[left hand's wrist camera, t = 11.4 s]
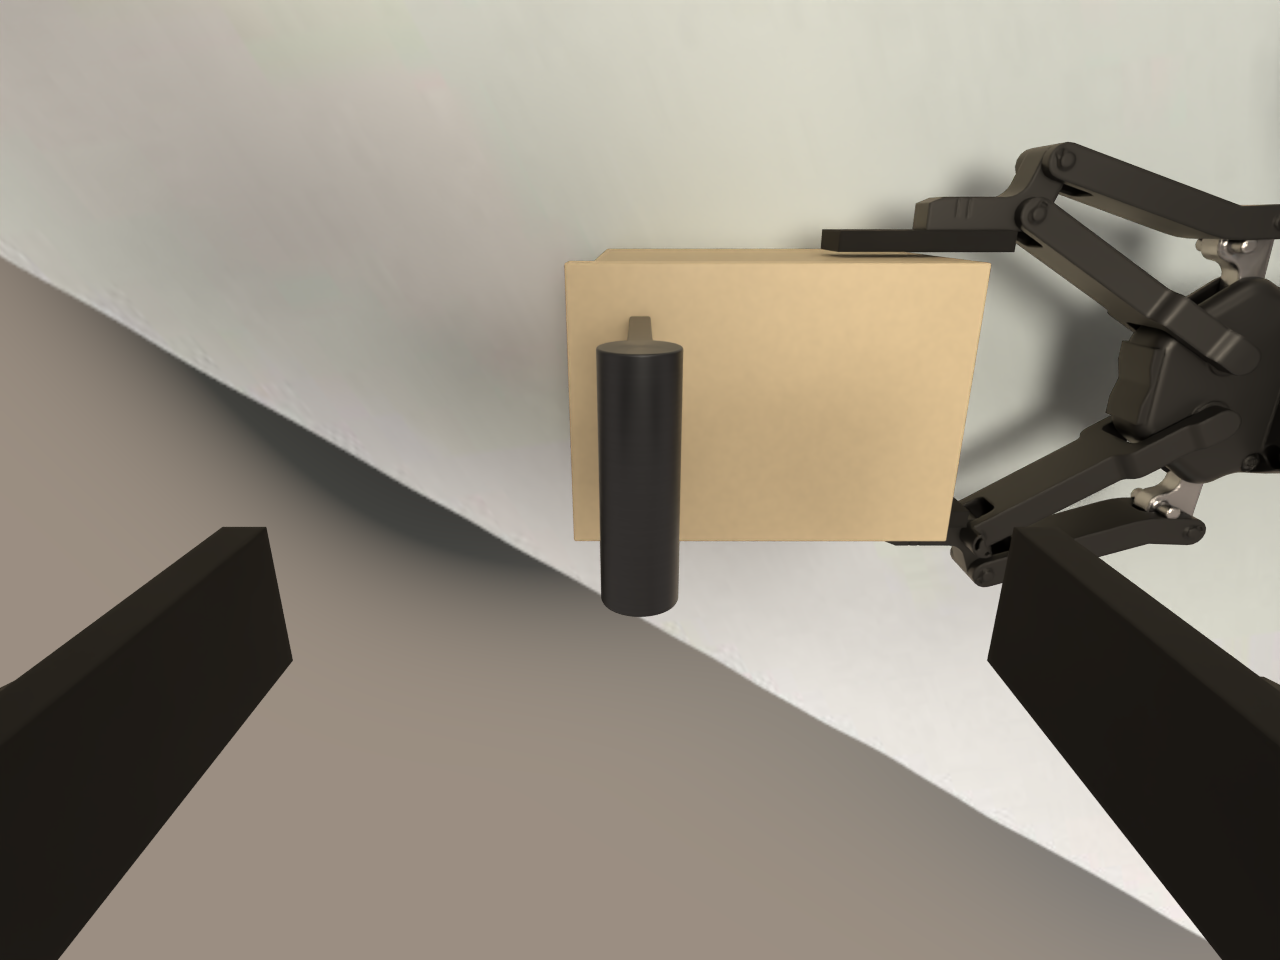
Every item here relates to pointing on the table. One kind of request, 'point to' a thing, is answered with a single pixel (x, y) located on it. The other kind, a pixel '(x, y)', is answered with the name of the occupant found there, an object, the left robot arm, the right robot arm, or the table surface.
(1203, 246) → the right robot arm
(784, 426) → the lid
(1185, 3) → the table surface
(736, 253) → the chest
